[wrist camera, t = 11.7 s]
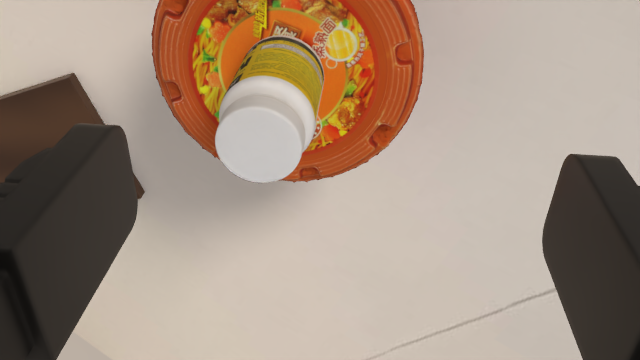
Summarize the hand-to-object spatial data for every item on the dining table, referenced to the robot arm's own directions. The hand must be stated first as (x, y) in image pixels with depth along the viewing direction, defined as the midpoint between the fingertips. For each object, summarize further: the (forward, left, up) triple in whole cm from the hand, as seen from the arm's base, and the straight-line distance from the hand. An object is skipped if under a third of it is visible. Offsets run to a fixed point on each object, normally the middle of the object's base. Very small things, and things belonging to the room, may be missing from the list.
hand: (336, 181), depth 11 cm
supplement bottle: (+7, -4, -22) cm, 23 cm away
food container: (+7, -4, -32) cm, 33 cm away
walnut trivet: (+20, -26, -32) cm, 46 cm away
